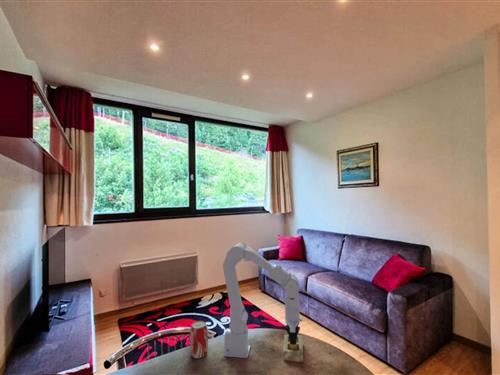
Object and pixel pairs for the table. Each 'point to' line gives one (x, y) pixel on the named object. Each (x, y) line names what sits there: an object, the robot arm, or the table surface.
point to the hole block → (293, 354)
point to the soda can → (198, 339)
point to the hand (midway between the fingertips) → (293, 341)
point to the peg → (293, 346)
